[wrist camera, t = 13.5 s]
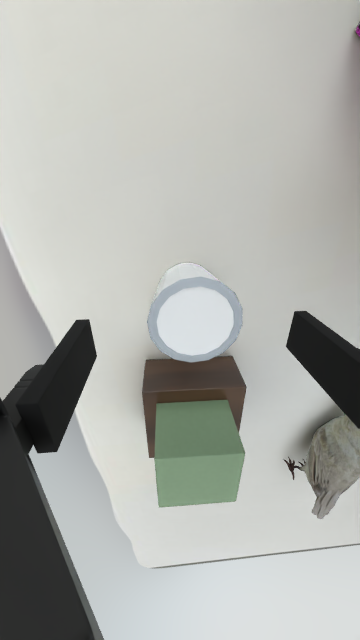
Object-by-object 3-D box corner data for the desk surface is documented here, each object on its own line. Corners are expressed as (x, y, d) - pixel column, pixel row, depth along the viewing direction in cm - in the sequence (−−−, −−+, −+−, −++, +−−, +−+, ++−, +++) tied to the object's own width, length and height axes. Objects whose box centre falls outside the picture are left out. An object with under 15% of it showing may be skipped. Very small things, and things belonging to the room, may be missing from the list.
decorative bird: (371, 392, 31) (428, 445, 24) (305, 464, 37) (336, 520, 31) (338, 384, 29) (389, 437, 23) (277, 459, 36) (302, 516, 29)
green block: (156, 403, 22) (154, 459, 17) (227, 399, 22) (245, 453, 18) (159, 449, 25) (158, 508, 20) (222, 445, 26) (236, 501, 21)
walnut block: (145, 359, 26) (141, 392, 21) (232, 355, 26) (246, 386, 22) (151, 420, 30) (149, 458, 26) (225, 416, 31) (235, 452, 26)
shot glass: (151, 321, 24) (146, 362, 17) (152, 253, 21) (147, 274, 14) (216, 323, 24) (234, 364, 18) (226, 257, 21) (253, 279, 15)
